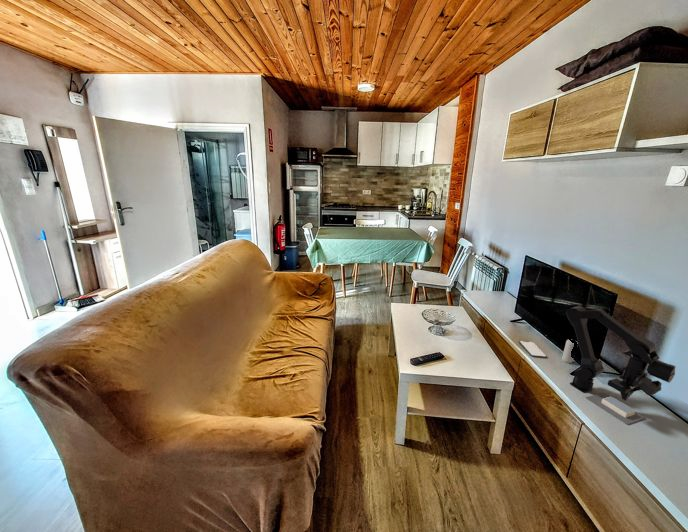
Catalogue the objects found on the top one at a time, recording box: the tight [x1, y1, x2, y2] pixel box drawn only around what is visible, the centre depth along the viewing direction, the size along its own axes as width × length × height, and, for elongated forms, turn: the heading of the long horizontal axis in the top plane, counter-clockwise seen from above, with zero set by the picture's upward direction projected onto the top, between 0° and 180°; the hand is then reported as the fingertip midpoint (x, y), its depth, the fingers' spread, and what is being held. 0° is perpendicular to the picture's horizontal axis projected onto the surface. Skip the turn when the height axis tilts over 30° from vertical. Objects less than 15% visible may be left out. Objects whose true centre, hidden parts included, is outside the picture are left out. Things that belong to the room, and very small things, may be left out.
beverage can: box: [561, 338, 574, 364], centre depth 162 cm, size 5×5×12 cm
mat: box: [585, 392, 647, 425], centre depth 129 cm, size 16×12×1 cm
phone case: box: [518, 340, 548, 359], centre depth 173 cm, size 9×2×16 cm
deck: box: [601, 396, 637, 418], centre depth 128 cm, size 9×2×6 cm
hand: (624, 399), depth 128 cm, fingers closed
